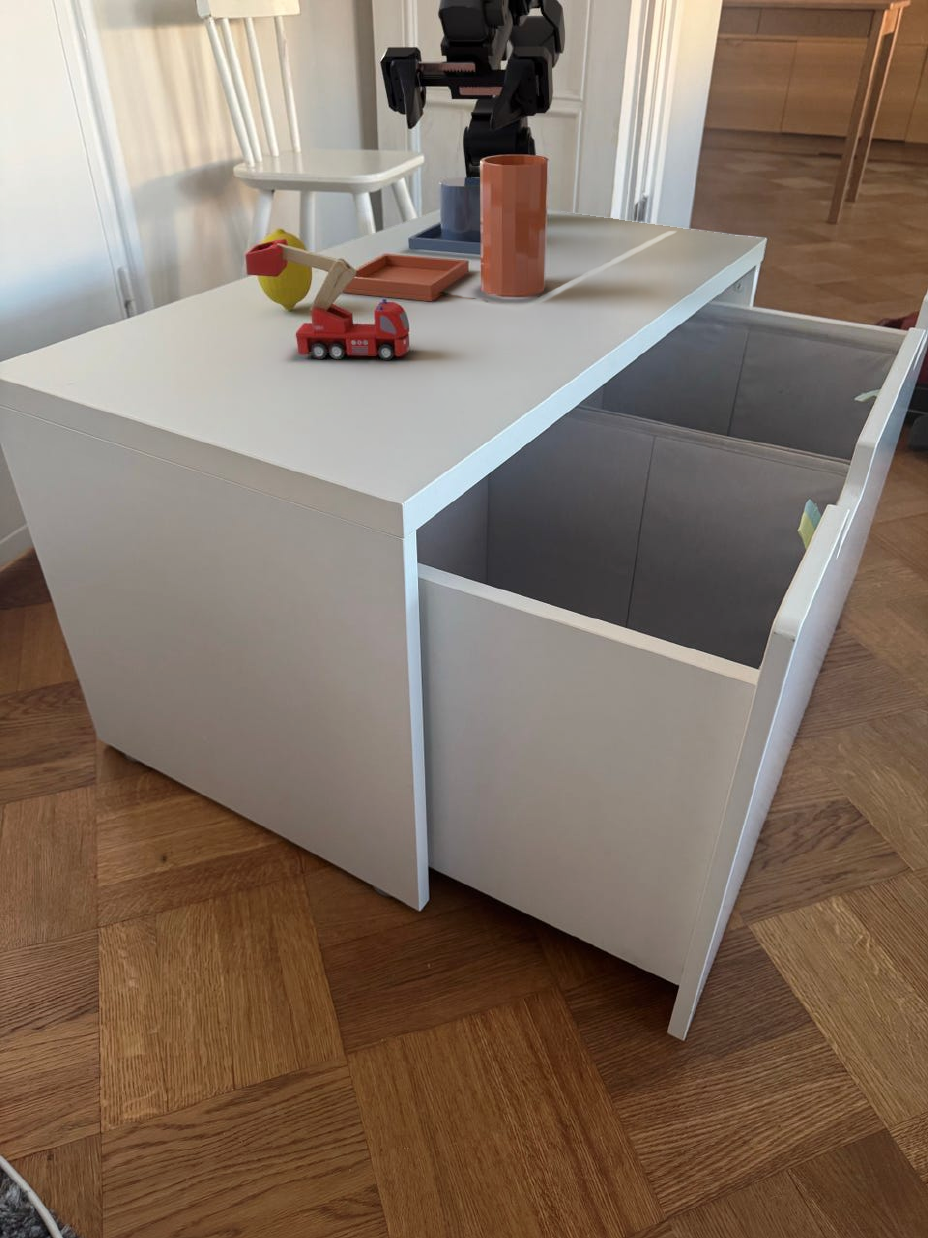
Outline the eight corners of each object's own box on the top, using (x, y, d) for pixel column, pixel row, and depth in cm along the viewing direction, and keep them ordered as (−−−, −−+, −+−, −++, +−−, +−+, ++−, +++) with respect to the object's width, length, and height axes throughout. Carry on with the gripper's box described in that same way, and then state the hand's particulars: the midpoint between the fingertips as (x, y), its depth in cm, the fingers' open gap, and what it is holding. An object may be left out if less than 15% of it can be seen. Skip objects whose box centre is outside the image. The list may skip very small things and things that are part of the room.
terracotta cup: (502, 280, 103) (503, 152, 96) (555, 288, 100) (560, 157, 92) (469, 295, 98) (467, 162, 91) (524, 304, 95) (527, 167, 88)
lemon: (326, 305, 96) (317, 224, 92) (297, 320, 92) (286, 236, 88) (282, 299, 98) (272, 220, 94) (251, 314, 94) (239, 232, 90)
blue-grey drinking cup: (458, 233, 120) (456, 175, 116) (497, 239, 117) (497, 179, 113) (431, 243, 116) (429, 183, 112) (471, 249, 113) (471, 187, 109)
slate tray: (443, 233, 122) (443, 219, 121) (518, 239, 119) (518, 225, 118) (408, 252, 114) (408, 237, 113) (488, 259, 111) (488, 244, 110)
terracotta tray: (385, 268, 108) (384, 253, 107) (468, 275, 105) (468, 260, 104) (342, 292, 100) (340, 276, 99) (431, 301, 97) (431, 284, 96)
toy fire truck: (407, 361, 82) (401, 247, 76) (258, 358, 83) (242, 247, 78) (413, 348, 85) (407, 238, 79) (268, 346, 86) (253, 237, 80)
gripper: (389, -34, 100) (350, 46, 92) (559, -38, 96) (532, 45, 88) (407, 70, 109) (372, 150, 102) (562, 70, 105) (538, 154, 98)
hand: (450, 125), depth 97 cm, fingers open, 9 cm apart
